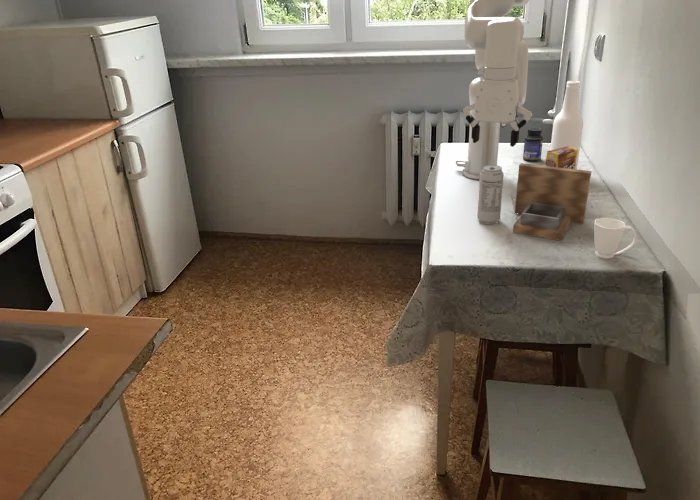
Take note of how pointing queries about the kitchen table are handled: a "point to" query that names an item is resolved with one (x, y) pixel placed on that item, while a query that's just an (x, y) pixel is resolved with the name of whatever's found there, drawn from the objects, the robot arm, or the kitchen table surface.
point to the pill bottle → (533, 145)
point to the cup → (609, 237)
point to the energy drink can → (490, 194)
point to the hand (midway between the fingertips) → (494, 143)
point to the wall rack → (550, 199)
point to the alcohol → (568, 121)
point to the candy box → (562, 157)
